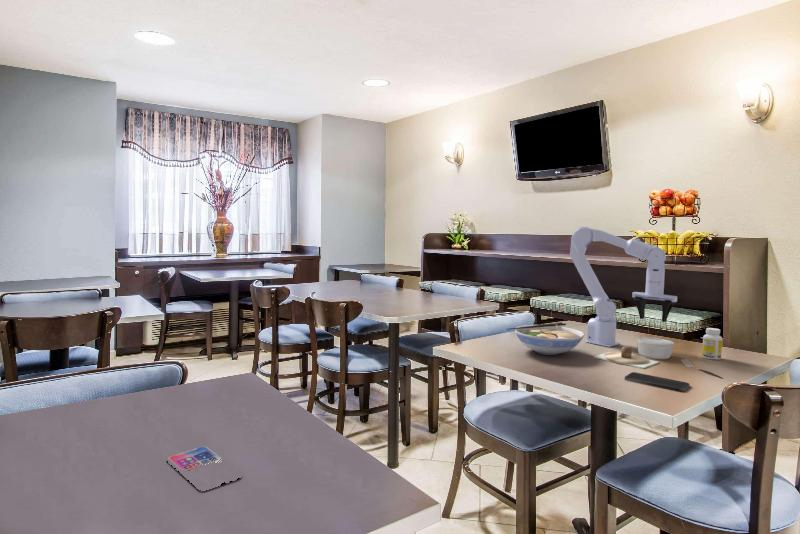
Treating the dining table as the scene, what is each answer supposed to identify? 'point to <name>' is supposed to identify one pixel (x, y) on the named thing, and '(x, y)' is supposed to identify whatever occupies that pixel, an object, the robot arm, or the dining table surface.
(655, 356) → the ramekin
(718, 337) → the supplement bottle
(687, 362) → the fork
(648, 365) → the mat
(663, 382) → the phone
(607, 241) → the robot arm
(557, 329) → the ramen bowl
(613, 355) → the lid
